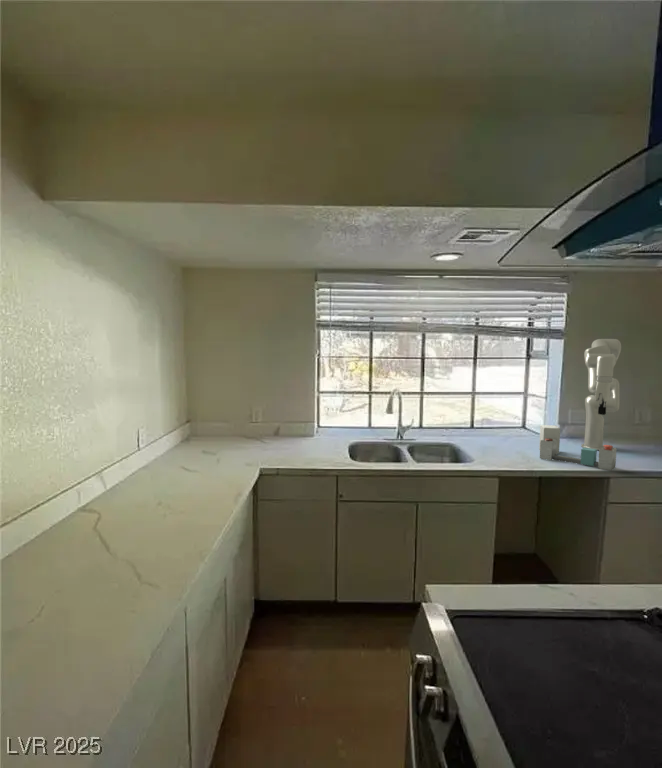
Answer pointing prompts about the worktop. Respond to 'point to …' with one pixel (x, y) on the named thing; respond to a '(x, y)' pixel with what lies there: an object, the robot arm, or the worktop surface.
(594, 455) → the carriage
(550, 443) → the cabinet
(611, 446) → the knob
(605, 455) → the cabinet
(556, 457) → the rail
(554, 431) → the supplement box
